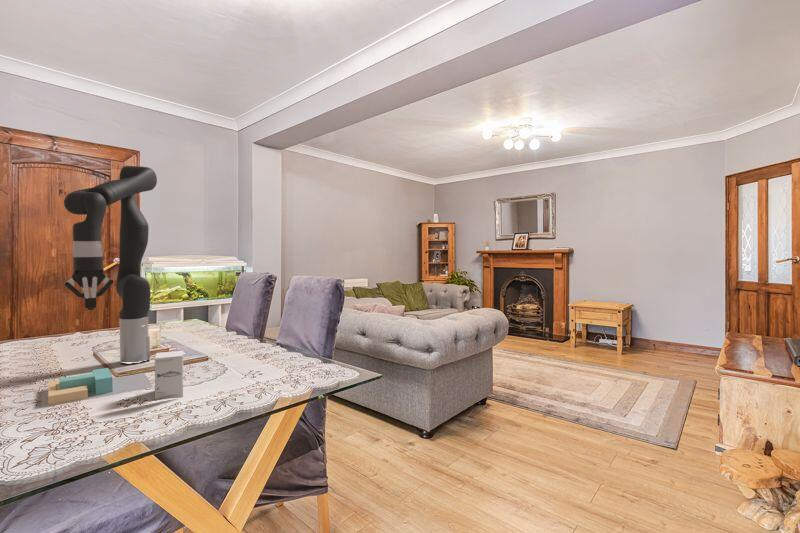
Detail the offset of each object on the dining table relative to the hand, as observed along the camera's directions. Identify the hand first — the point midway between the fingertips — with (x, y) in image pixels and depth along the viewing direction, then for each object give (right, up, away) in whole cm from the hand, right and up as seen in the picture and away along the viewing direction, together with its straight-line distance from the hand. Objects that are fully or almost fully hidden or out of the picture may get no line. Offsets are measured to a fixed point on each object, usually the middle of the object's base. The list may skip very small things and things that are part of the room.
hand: (90, 309), depth 128 cm
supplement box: (+30, -25, -8) cm, 40 cm away
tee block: (+4, -24, -8) cm, 25 cm away
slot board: (+7, -25, -5) cm, 26 cm away
